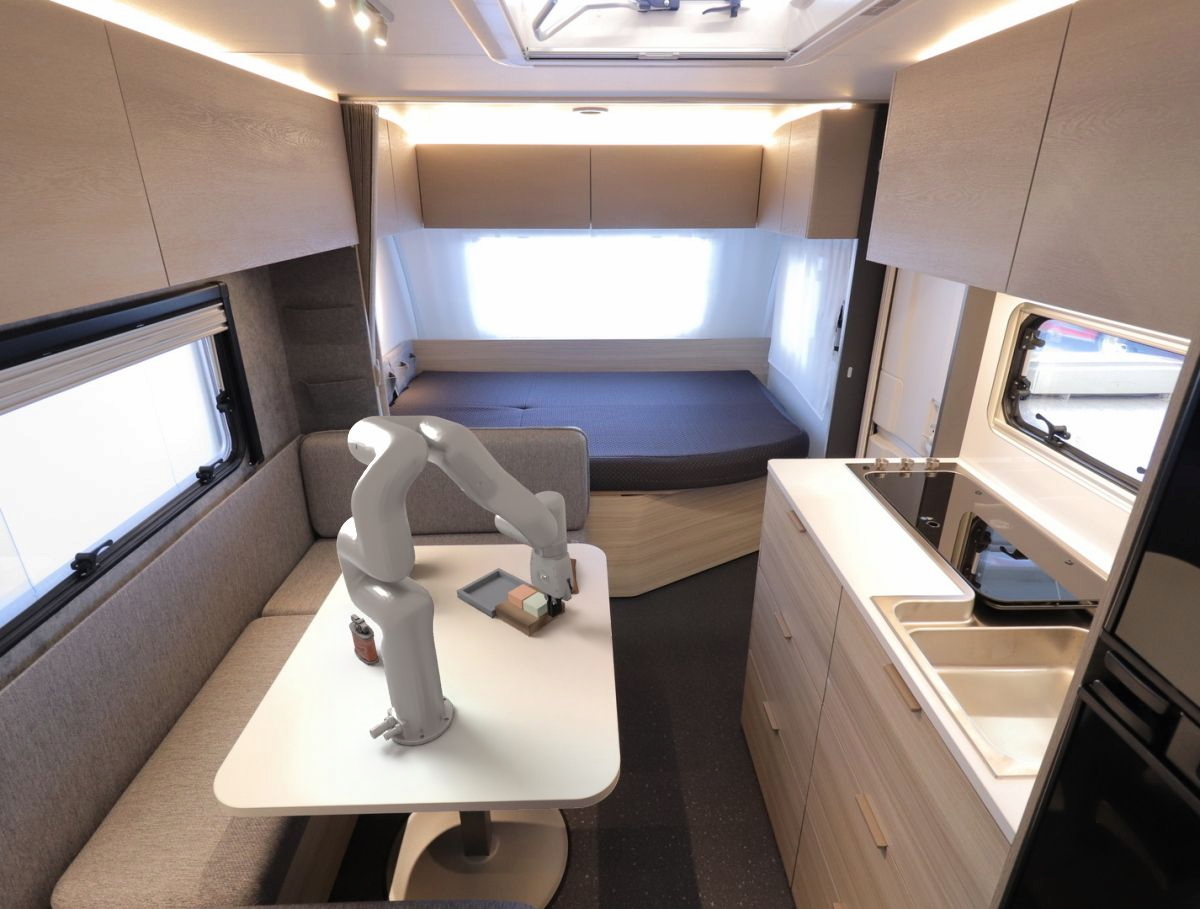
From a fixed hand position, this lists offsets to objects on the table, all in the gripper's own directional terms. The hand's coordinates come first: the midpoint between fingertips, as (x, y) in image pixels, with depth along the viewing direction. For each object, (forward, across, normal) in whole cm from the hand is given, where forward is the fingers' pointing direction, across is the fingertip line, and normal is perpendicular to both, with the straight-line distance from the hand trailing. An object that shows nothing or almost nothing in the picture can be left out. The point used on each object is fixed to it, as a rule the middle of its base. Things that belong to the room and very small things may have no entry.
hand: (555, 613), depth 144 cm
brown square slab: (+4, -9, 0) cm, 10 cm away
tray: (+4, -22, 0) cm, 23 cm away
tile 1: (+1, -11, 0) cm, 11 cm away
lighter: (+4, -26, -34) cm, 43 cm away
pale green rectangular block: (+1, -6, 0) cm, 6 cm away
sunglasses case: (+5, -15, +17) cm, 23 cm away
